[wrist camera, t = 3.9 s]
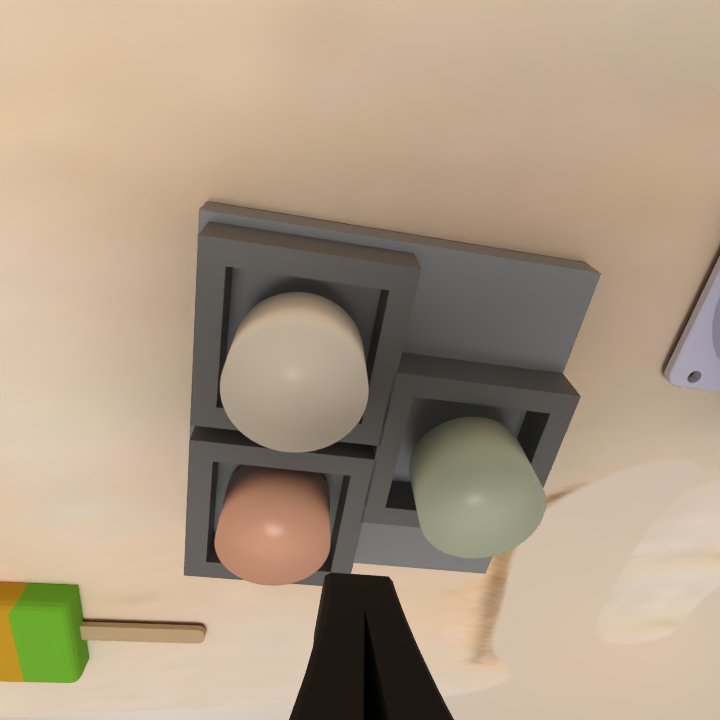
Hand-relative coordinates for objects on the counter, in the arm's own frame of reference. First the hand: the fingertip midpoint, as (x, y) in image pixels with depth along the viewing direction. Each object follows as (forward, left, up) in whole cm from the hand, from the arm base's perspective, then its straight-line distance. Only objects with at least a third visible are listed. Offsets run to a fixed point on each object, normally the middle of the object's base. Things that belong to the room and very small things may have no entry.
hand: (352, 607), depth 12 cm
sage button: (-5, +1, -7) cm, 9 cm away
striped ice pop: (+12, +15, -11) cm, 22 cm away
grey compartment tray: (-1, +1, -10) cm, 10 cm away
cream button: (+2, -2, -7) cm, 8 cm away
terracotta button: (+2, +5, -9) cm, 10 cm away
